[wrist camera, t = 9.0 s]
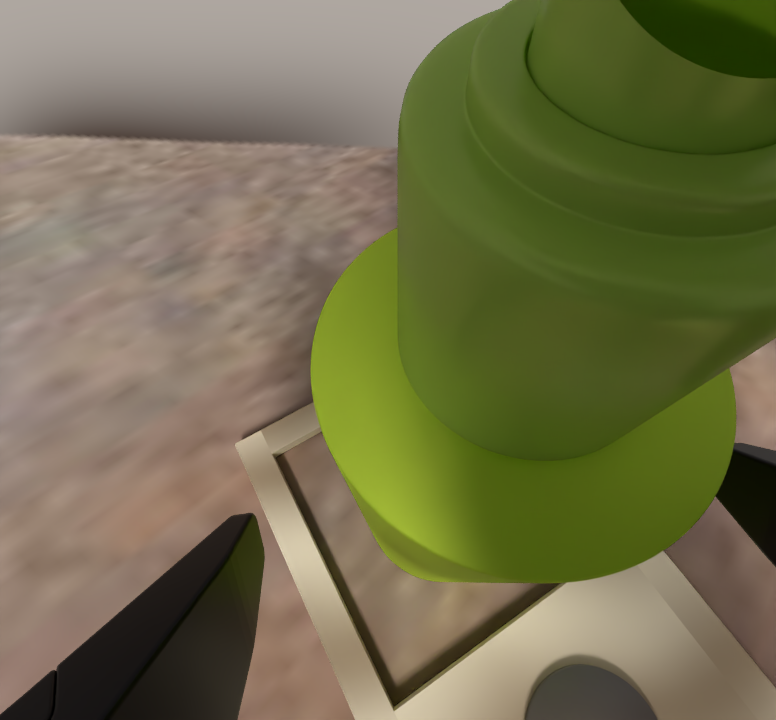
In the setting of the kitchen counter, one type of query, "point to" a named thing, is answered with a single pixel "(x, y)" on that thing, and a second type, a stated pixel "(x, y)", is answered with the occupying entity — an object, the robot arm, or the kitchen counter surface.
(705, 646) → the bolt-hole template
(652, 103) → the soap dispenser
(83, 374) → the kitchen counter surface
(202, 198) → the kitchen counter surface
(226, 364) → the kitchen counter surface
